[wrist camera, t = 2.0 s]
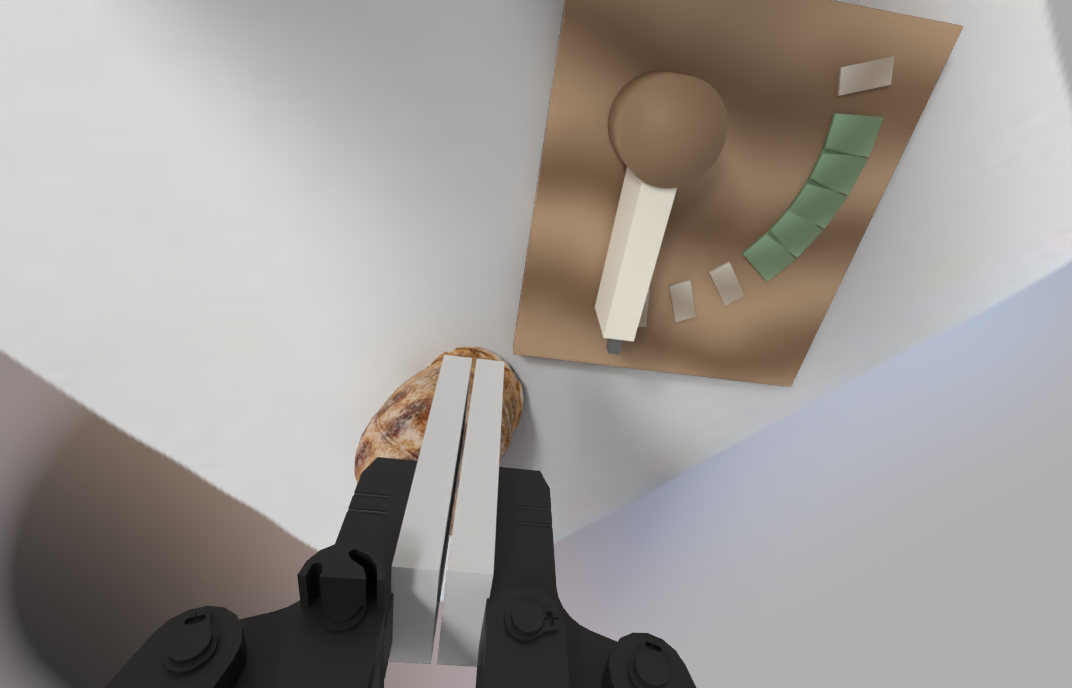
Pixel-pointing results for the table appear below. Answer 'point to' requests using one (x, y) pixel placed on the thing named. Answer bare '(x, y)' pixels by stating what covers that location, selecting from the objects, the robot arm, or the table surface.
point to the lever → (652, 183)
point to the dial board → (725, 176)
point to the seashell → (409, 409)
